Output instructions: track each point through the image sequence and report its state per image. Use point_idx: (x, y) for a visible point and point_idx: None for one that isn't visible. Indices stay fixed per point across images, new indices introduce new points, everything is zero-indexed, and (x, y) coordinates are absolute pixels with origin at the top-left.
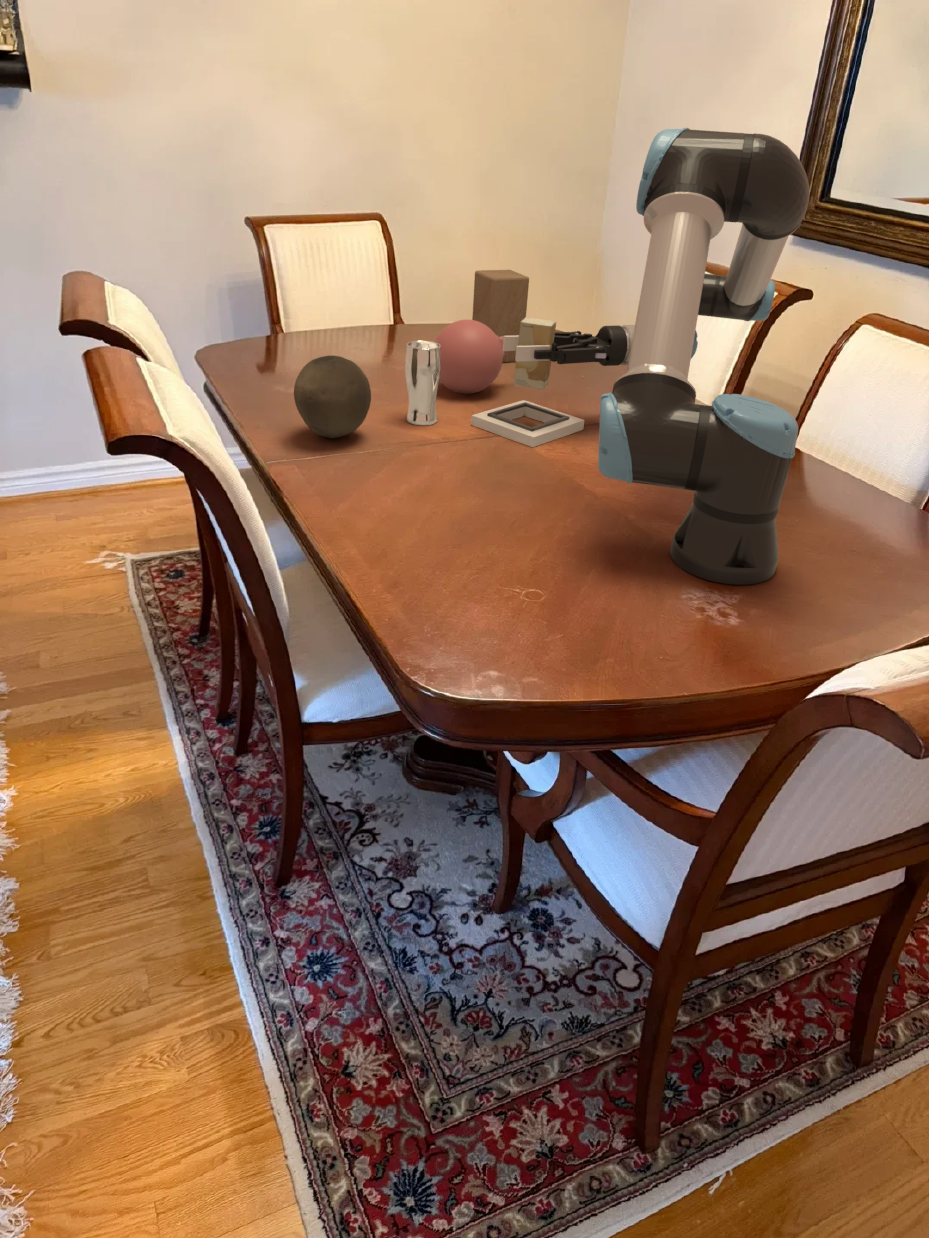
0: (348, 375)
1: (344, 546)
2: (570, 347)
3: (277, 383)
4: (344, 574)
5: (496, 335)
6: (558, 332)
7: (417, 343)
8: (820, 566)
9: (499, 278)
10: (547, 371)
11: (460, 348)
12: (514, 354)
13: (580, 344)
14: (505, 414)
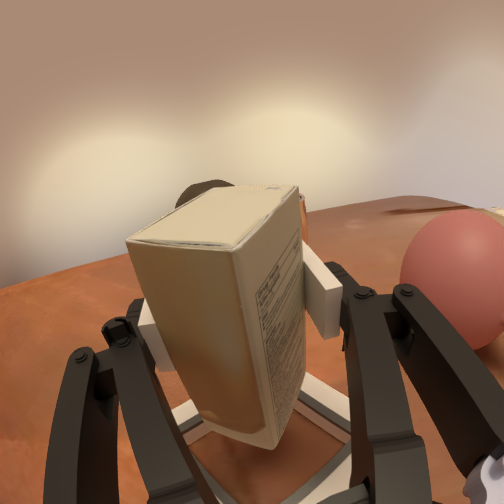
0: (182, 199)
1: (45, 279)
2: (126, 419)
3: (366, 219)
4: (26, 281)
5: None
6: (472, 362)
7: (299, 197)
8: None
9: None
10: (214, 410)
11: (412, 249)
12: None
13: (157, 493)
14: (298, 402)
